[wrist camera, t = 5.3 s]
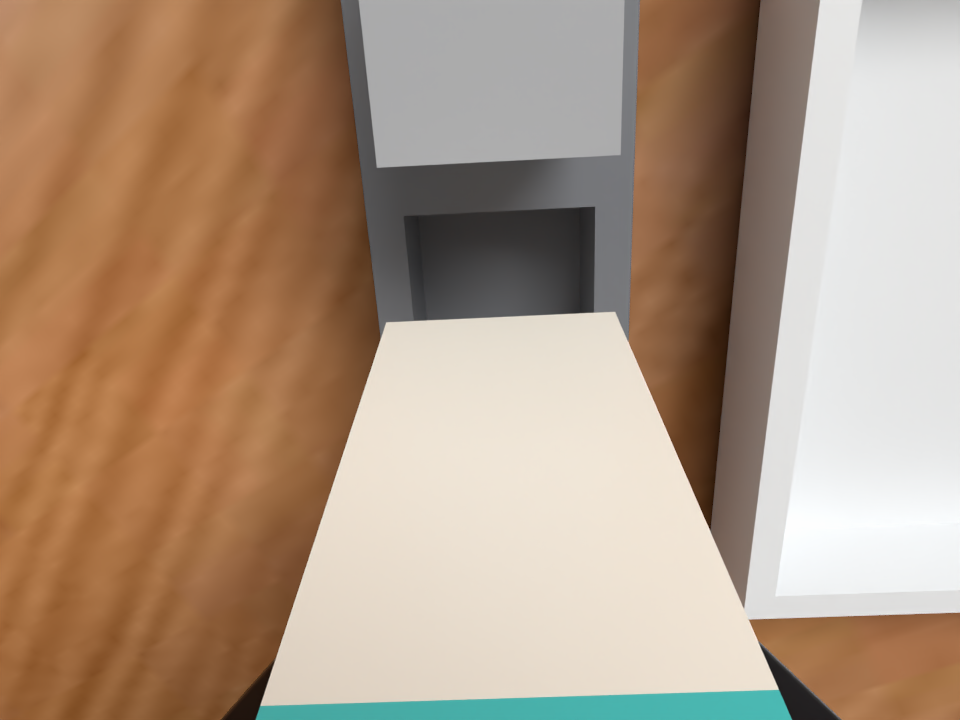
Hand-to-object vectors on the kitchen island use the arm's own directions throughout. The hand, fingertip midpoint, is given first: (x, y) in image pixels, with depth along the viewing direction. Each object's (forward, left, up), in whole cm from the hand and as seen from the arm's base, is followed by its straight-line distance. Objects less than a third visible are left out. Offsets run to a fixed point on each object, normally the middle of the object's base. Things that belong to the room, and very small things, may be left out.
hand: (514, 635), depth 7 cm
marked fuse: (0, 0, -4) cm, 4 cm away
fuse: (+6, 0, -11) cm, 12 cm away
